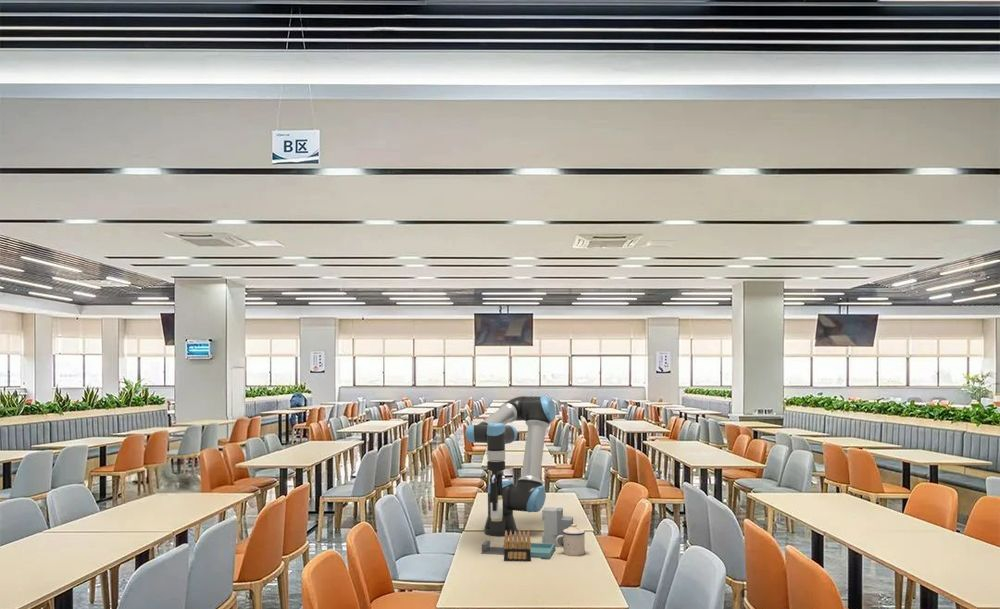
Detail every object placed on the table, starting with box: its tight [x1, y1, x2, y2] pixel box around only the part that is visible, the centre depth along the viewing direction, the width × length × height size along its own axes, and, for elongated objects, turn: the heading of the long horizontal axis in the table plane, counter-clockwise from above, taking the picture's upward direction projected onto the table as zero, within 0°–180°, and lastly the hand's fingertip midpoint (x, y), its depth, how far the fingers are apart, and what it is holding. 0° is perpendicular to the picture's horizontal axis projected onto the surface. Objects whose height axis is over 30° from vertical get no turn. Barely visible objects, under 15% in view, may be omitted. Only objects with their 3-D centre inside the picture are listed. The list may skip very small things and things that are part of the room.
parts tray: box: [517, 542, 556, 560], centre depth 307 cm, size 16×16×2 cm
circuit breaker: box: [541, 506, 578, 548], centre depth 322 cm, size 8×14×15 cm, turn 78°
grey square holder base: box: [480, 540, 509, 556], centre depth 310 cm, size 12×11×4 cm
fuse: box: [491, 495, 503, 522], centre depth 312 cm, size 5×5×10 cm
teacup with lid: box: [556, 523, 586, 557], centre depth 307 cm, size 12×9×12 cm
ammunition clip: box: [503, 530, 532, 562], centre depth 295 cm, size 11×2×12 cm, turn 85°
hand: (496, 517), depth 311 cm, fingers closed on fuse, 5 cm apart
